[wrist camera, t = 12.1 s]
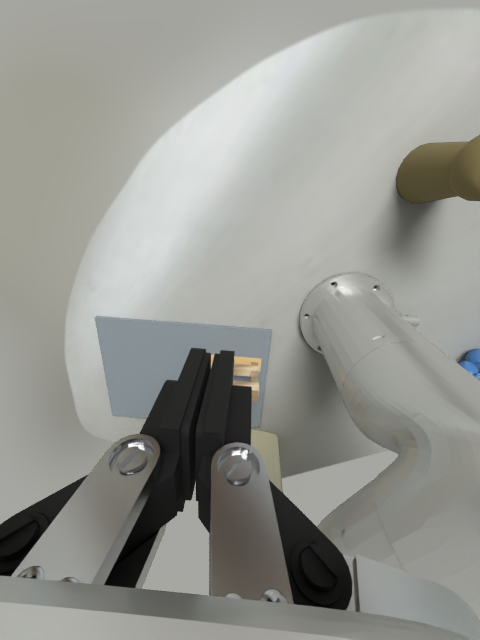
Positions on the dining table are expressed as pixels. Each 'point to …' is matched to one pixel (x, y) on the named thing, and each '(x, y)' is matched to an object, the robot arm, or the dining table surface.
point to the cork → (441, 172)
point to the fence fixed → (251, 372)
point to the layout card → (170, 358)
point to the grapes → (472, 362)
